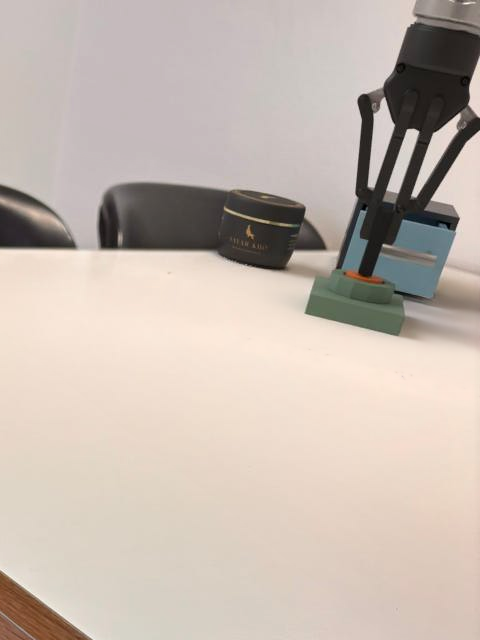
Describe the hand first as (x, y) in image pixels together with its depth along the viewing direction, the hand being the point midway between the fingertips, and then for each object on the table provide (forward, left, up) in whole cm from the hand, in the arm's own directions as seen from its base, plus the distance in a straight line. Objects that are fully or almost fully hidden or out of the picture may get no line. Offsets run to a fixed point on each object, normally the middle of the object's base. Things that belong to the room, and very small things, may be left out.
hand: (364, 272), depth 117 cm
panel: (0, 0, -5) cm, 5 cm away
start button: (0, 0, -2) cm, 2 cm away
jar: (+23, -4, -5) cm, 24 cm away
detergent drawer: (+12, -17, -4) cm, 21 cm away
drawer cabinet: (+20, -25, -5) cm, 32 cm away
